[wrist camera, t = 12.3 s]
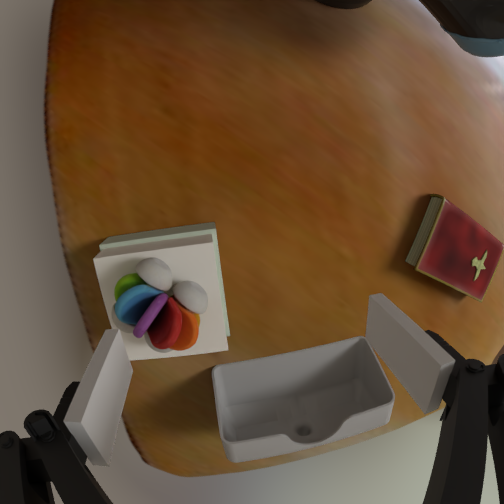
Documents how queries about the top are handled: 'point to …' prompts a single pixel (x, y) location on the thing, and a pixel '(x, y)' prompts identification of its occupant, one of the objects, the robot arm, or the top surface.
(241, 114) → the top surface
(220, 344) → the grey square box
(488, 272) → the hardcover book
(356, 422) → the light grey storage bin
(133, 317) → the chunky wheeled toy
